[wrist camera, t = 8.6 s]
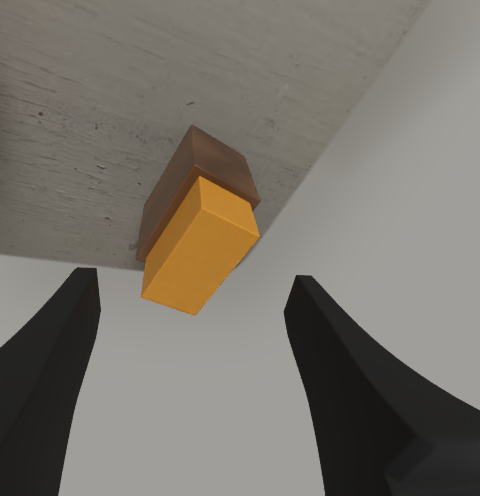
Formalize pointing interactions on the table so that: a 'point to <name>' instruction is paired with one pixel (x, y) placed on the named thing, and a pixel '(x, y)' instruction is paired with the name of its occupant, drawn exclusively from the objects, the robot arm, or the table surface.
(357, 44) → the table surface
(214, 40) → the table surface
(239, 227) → the orange rectangular block
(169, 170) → the wooden block
